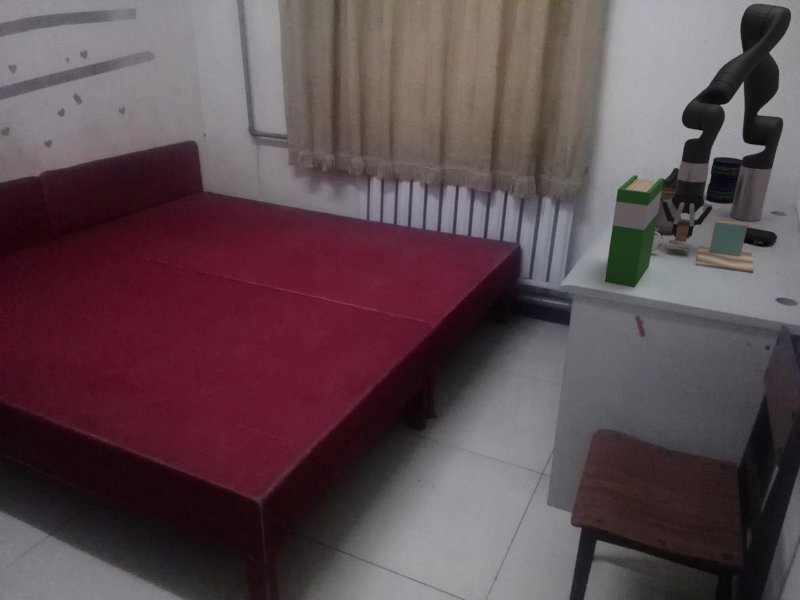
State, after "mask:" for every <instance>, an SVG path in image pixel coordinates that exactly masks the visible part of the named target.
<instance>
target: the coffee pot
mask: <svg viewBox="0 0 800 600" xmlns="http://www.w3.org/2000/svg"><path fill="white" fill-rule="evenodd" d="M674 194H675V189H672V188H662V192H661V198H660V204H659V210H658V216H657V222H656V230H657V228H658V232H659V233H660V234H664V235H666V234H668V233H669V234H672V229H673V223H672V222H669V221H667V218H666V215H665V212H664V209H663V205H662V203H663V201H664V200H670V199H672V197H673V196H674ZM670 211H671V214H672V217H675V216H676V213H677V210H676V208H675V206H674V204H673V203H671V207H670ZM679 219H682V215H681V216H680V218H679Z"/></svg>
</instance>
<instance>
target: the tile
mask: <svg viewBox="0 0 800 600" xmlns="http://www.w3.org/2000/svg"><path fill="white" fill-rule="evenodd" d="M747 227H748V223H743V222H734V221H724V220H715V222H714V227H713V231H712V235H711V242H710V245H709V247H710V251H709V252H712V253H719V254H727V255H734V256H741V252H743V251H742V250H743V246H744V243H745V242H744V238H745V234H746V230H747Z"/></svg>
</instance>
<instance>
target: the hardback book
mask: <svg viewBox="0 0 800 600" xmlns="http://www.w3.org/2000/svg"><path fill="white" fill-rule="evenodd" d="M663 180H665V178H659V179H657V180H651V179H643V178H642V179H641V178H638V175H637V174H635V175H632V176H631V177H630V178H629V179H628V180H627V181H626V182H624V183H623V184H621V186H620V187H618V189H617V192H616V199H615V206H614V213H613V220H612V227H611V228H612V229H611V235H610V242H609V250H608V255H607V256H608V257H607V263H606V271H605V278H604V283H608V284H613V285H619V286H623V287H629V288H633V289H635V287H636V286H638V283H639V282H640V281H641V279H642V277H643V276H644V274H645V273H646V272H647V270H648V268H649V267H650V261H651V256H652V253H651V251H652V250H653V244H654V239H655V227H656V222H657V216H658V210H659V204H660V198H661V192H662V186H663Z"/></svg>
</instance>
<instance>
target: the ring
mask: <svg viewBox="0 0 800 600" xmlns="http://www.w3.org/2000/svg"><path fill="white" fill-rule="evenodd" d="M654 235H657V236H658V239H659V244H658V247H656V248H655V249H652V251H651V254H654V253H656V252H658V251H659V250H660V249H661V247H662V245H663V239H664V238H663V236H662V233H659V232H658V228H657V230H656V227H655V233H654Z"/></svg>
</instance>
